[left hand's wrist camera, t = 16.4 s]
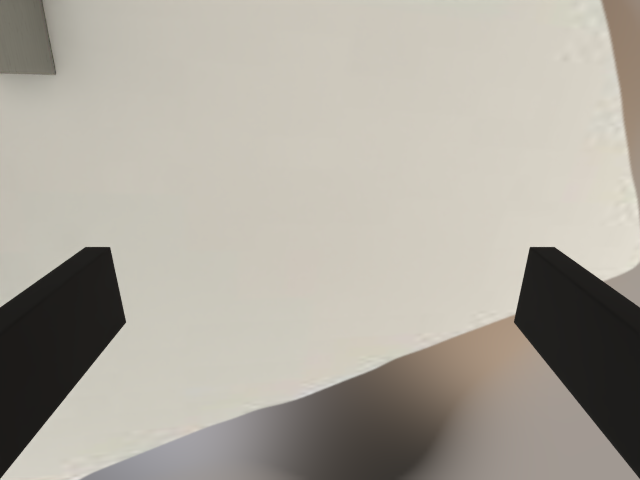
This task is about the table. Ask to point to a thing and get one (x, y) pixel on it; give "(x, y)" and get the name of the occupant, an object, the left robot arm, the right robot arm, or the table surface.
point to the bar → (24, 38)
